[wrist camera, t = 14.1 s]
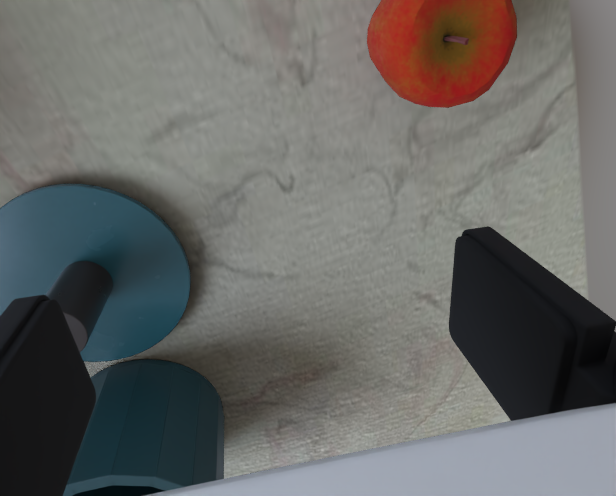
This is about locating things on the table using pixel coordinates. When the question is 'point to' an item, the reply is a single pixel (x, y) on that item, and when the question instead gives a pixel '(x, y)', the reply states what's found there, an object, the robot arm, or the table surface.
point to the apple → (441, 47)
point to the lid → (95, 266)
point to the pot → (149, 432)
